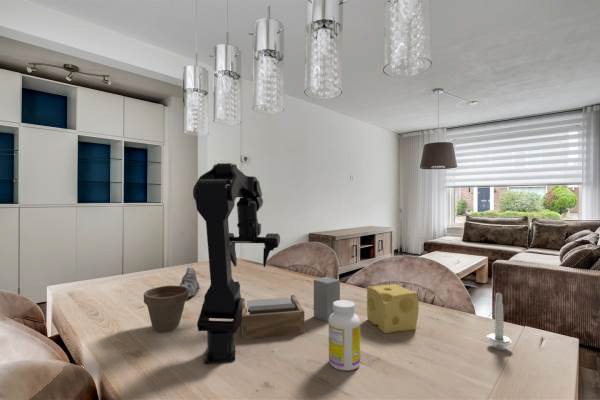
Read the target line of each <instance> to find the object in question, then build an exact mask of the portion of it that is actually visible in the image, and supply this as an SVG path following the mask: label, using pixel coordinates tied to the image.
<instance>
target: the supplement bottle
mask: <svg viewBox="0 0 600 400" xmlns="http://www.w3.org/2000/svg"><path fill="white" fill-rule="evenodd" d="M333 310H334V313H332V314H331V315H330V317H329V322H328V361H329V363H330V365H331V366H332V367H333V368H334V369H336V370H339V371H347V372H348V371H353V370H356V369H357V368H359V367H360V365H361V319H360V317H359V316H358V315H357V314H356V313H355V311H356V303H355V302H353V301H352V300H348V299H340V300H338V301H335V302H333Z"/></svg>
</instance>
